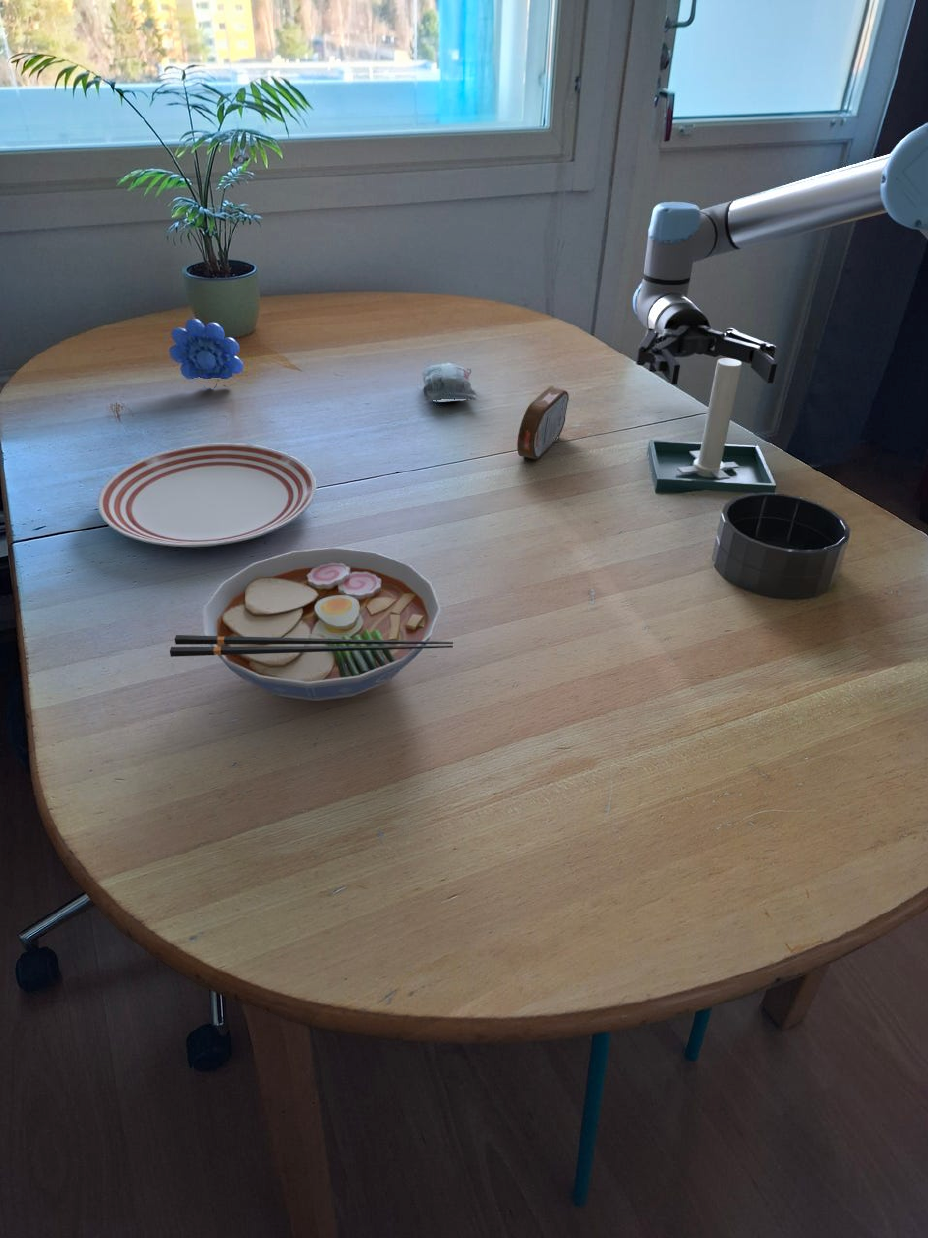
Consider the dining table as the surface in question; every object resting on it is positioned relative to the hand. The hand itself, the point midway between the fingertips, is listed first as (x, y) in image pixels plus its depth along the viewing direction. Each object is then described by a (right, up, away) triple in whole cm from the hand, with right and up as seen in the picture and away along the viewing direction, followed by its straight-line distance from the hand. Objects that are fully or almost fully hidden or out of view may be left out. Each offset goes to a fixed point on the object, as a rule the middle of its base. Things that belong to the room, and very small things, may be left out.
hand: (724, 374), depth 119 cm
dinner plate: (-69, -19, -4) cm, 71 cm away
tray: (0, -12, +8) cm, 15 cm away
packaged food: (-38, +4, +30) cm, 49 cm away
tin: (-24, -8, +14) cm, 29 cm away
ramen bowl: (-49, -38, -30) cm, 70 cm away
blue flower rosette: (-79, +5, +30) cm, 84 cm away
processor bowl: (+1, -28, -14) cm, 31 cm away
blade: (0, -12, +7) cm, 14 cm away
